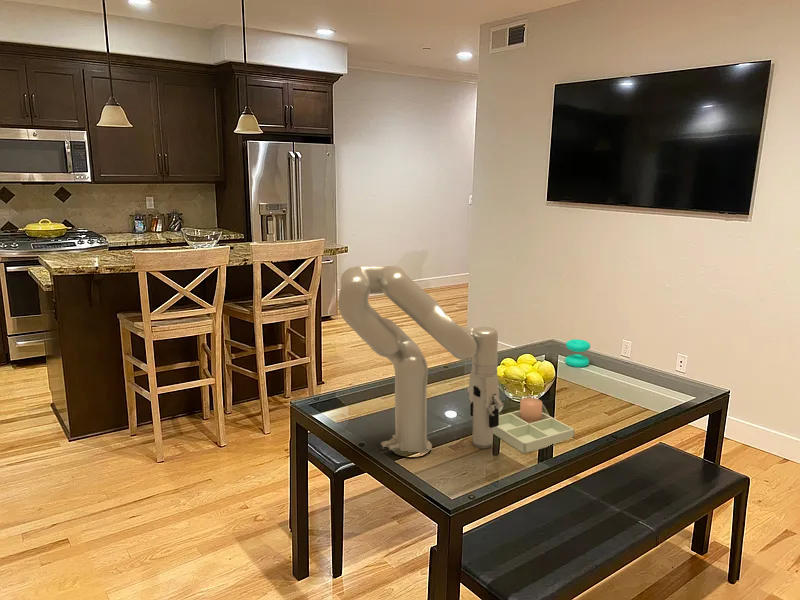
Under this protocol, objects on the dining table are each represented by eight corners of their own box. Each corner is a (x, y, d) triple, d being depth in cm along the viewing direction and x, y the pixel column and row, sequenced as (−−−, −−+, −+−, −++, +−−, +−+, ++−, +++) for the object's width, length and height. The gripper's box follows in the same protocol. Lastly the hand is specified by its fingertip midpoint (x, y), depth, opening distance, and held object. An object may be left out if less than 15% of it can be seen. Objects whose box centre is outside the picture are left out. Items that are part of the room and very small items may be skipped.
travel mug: (496, 441, 185) (497, 381, 180) (488, 450, 179) (489, 388, 175) (477, 437, 188) (478, 378, 183) (469, 445, 182) (470, 385, 178)
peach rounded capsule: (529, 430, 190) (529, 407, 188) (515, 422, 196) (516, 400, 194) (545, 426, 193) (546, 403, 192) (531, 418, 199) (532, 396, 198)
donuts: (581, 346, 246) (561, 341, 253) (579, 369, 248) (560, 363, 256) (595, 342, 252) (575, 337, 259) (593, 364, 254) (574, 358, 262)
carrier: (524, 456, 176) (524, 443, 175) (484, 430, 193) (485, 419, 192) (574, 441, 185) (574, 429, 184) (532, 417, 202) (532, 407, 201)
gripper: (458, 362, 184) (458, 413, 188) (491, 379, 169) (491, 434, 173) (478, 358, 187) (477, 408, 191) (512, 374, 172) (511, 428, 176)
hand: (484, 420), depth 182 cm, fingers open, 9 cm apart
